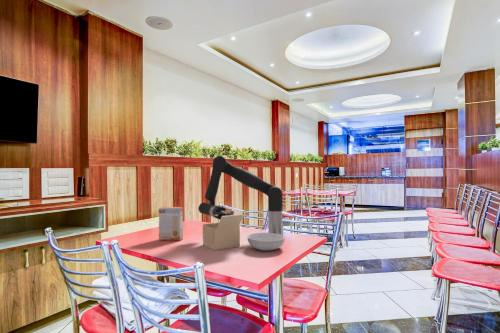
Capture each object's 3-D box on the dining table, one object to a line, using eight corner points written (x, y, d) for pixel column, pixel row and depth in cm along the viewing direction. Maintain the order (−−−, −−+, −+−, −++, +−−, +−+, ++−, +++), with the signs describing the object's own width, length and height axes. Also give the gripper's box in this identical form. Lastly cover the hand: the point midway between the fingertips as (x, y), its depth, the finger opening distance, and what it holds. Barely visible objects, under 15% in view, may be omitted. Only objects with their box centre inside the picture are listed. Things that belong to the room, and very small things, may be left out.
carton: (201, 244, 169) (201, 224, 169) (226, 240, 179) (226, 221, 179) (214, 251, 155) (213, 229, 156) (240, 246, 165) (240, 225, 165)
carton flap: (221, 216, 151) (222, 216, 151) (244, 213, 159) (244, 214, 158) (216, 228, 156) (216, 229, 156) (238, 225, 164) (238, 226, 164)
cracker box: (183, 238, 184) (183, 206, 185) (180, 241, 178) (179, 207, 179) (162, 238, 186) (162, 206, 186) (158, 240, 180) (158, 207, 180)
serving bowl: (279, 255, 146) (279, 242, 146) (242, 252, 153) (241, 239, 154) (288, 245, 166) (288, 233, 166) (254, 242, 173) (254, 231, 173)
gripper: (207, 206, 167) (221, 210, 152) (227, 205, 174) (242, 208, 159) (207, 219, 167) (221, 224, 152) (227, 217, 174) (242, 221, 159)
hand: (231, 216), depth 156 cm, fingers closed
